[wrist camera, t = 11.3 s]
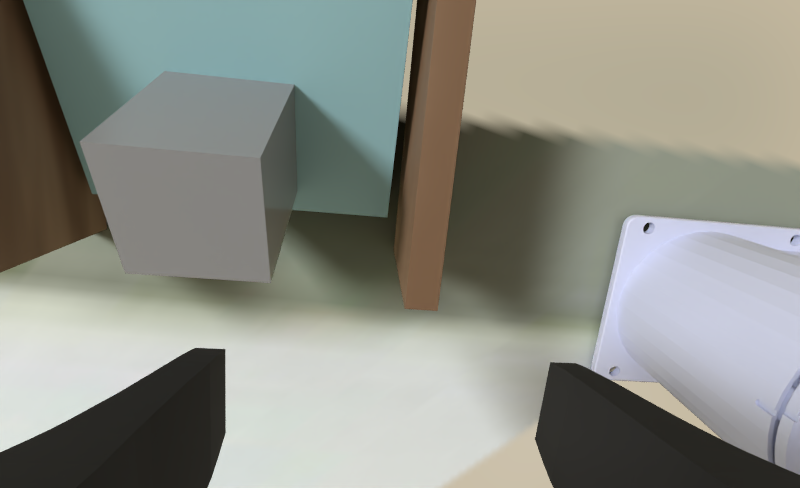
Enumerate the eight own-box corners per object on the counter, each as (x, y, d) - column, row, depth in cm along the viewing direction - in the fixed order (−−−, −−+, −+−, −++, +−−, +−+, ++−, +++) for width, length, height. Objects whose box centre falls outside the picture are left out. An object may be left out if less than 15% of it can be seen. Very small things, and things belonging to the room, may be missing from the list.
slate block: (294, 84, 15) (259, 157, 11) (297, 191, 17) (270, 282, 13) (164, 71, 14) (79, 141, 10) (187, 182, 17) (124, 273, 13)
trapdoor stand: (456, -118, 17) (508, -263, 10) (416, 251, 20) (437, 310, 14) (47, -178, 15) (-177, -386, 9) (81, 227, 19) (-63, 279, 13)
